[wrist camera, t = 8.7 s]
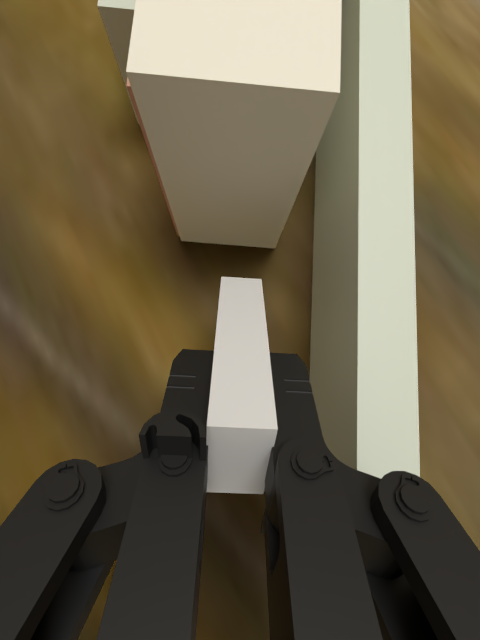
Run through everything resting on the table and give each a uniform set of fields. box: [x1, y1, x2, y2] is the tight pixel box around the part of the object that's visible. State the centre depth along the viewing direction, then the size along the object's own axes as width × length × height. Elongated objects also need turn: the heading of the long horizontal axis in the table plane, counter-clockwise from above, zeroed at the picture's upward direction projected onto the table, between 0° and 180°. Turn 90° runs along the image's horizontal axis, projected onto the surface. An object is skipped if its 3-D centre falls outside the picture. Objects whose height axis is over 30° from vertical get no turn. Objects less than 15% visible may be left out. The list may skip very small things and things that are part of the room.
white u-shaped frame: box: [97, 0, 420, 479], centre depth 15 cm, size 28×12×6 cm, turn 176°
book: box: [126, 0, 342, 248], centre depth 14 cm, size 13×5×10 cm, turn 176°
